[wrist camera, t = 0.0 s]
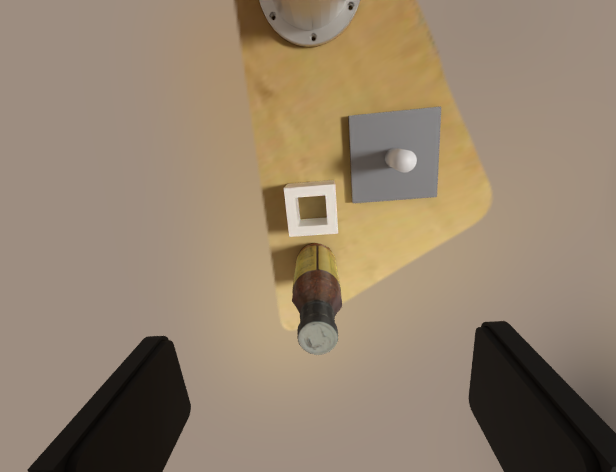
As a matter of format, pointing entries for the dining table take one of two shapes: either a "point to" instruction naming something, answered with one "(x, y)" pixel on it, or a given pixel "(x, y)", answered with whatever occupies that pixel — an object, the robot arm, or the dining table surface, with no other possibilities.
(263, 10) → the robot arm
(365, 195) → the post base
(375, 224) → the dining table surface
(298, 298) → the sauce bottle
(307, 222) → the white block
